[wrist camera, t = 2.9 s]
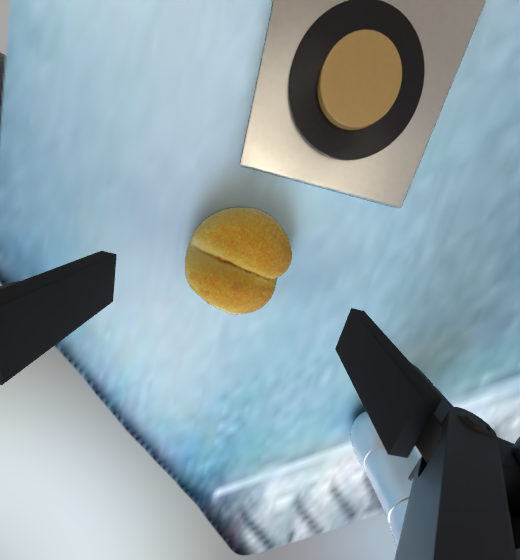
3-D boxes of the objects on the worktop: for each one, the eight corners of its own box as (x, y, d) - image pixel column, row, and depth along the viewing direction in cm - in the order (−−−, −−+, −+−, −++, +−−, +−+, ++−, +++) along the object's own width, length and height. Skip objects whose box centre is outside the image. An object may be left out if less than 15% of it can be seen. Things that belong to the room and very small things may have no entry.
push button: (240, 166, 21) (238, 162, 18) (285, -50, 16) (291, -98, 14) (391, 206, 22) (411, 209, 19) (467, 15, 18) (507, -17, 15)
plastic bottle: (380, 449, 31) (576, 853, 12) (333, 431, 30) (466, 843, 11) (414, 412, 29) (706, 818, 10) (365, 390, 28) (590, 801, 9)
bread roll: (304, 233, 22) (314, 241, 19) (255, 315, 25) (255, 338, 21) (217, 184, 21) (209, 183, 17) (175, 277, 23) (159, 294, 20)
